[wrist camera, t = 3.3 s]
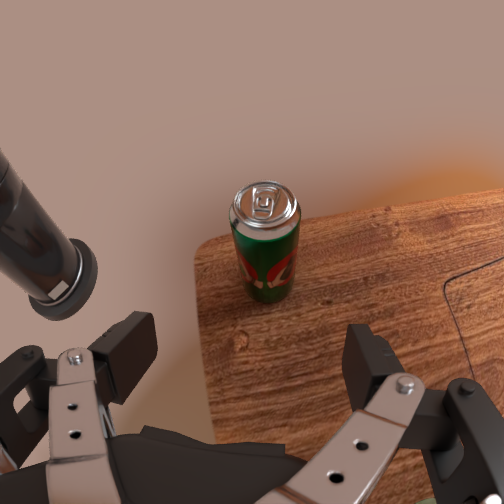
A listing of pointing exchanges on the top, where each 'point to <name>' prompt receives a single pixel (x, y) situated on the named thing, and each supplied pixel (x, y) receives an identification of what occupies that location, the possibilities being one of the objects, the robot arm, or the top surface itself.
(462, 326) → the top surface
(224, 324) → the top surface
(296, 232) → the soda can
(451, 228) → the top surface
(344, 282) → the top surface
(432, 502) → the can holder
